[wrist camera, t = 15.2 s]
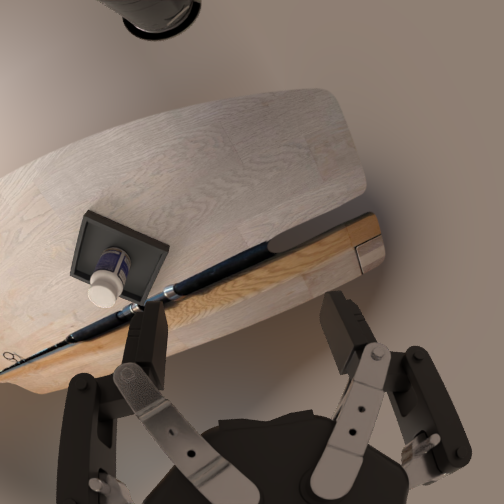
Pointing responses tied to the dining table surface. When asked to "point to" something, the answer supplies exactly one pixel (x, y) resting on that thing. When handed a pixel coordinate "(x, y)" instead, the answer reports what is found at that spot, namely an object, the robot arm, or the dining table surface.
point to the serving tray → (115, 235)
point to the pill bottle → (109, 277)
